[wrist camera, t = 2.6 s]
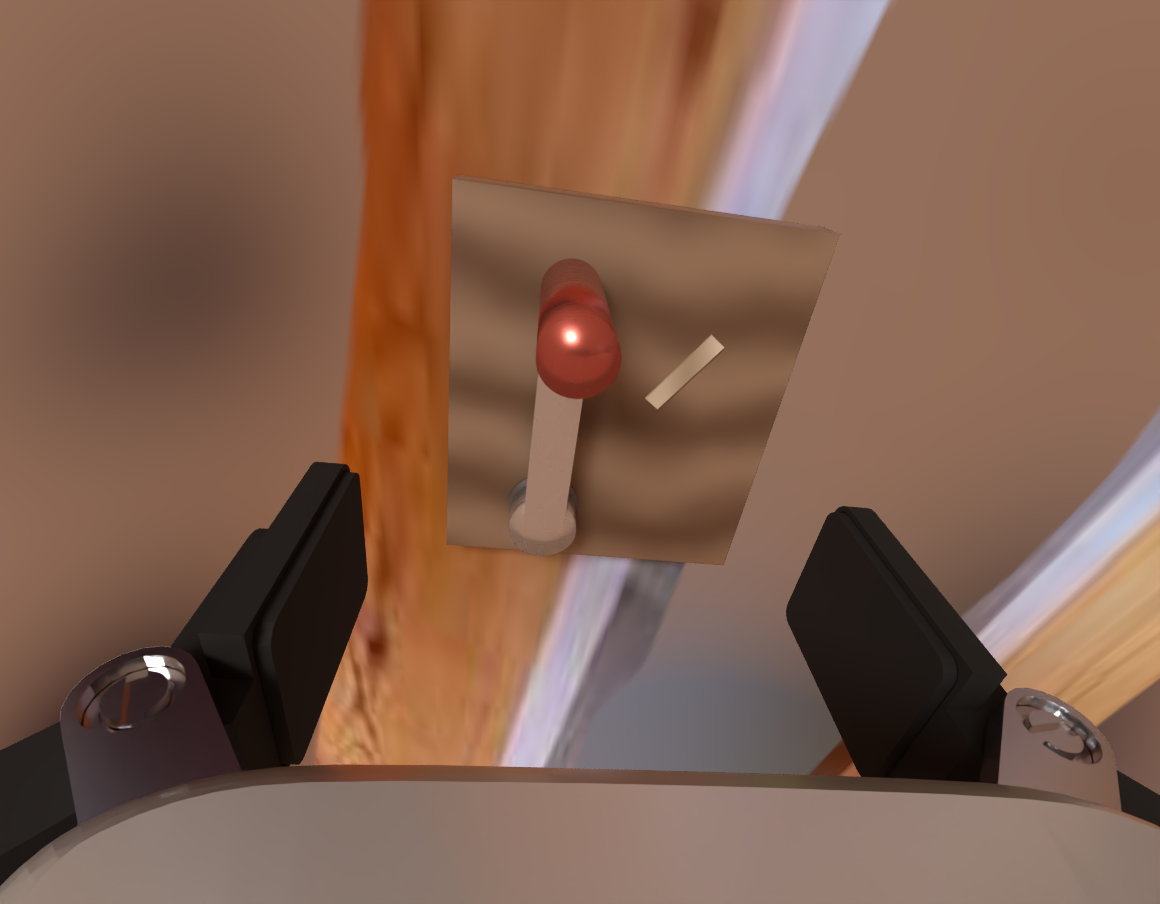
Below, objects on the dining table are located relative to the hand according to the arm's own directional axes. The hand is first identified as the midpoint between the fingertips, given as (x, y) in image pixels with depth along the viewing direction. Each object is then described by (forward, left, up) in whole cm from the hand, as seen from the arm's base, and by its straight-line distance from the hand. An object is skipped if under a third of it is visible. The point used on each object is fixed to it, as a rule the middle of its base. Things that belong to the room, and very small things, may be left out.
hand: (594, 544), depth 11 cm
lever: (+7, 0, -20) cm, 21 cm away
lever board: (+7, +4, -22) cm, 24 cm away
